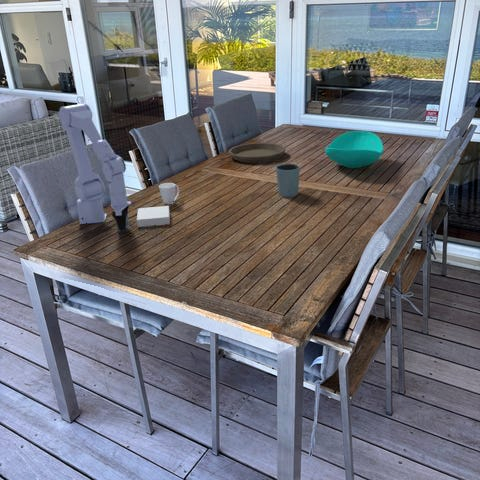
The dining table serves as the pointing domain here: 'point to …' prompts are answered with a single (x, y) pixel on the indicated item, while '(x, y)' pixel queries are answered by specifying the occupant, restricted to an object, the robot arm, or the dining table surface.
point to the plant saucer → (257, 152)
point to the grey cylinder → (126, 226)
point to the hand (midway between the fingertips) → (123, 226)
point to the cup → (168, 192)
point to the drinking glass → (288, 179)
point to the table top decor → (355, 149)
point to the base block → (153, 216)
